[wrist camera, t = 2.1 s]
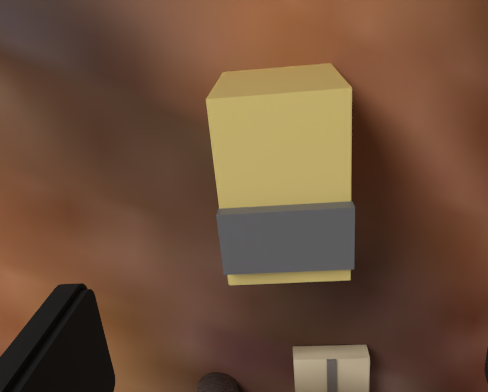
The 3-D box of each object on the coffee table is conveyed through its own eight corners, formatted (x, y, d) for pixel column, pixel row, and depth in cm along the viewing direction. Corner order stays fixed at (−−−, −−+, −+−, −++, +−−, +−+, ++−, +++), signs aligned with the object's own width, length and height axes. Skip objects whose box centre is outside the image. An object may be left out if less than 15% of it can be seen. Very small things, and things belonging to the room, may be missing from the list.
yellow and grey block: (222, 71, 19) (202, 103, 14) (331, 62, 19) (356, 91, 13) (237, 218, 22) (226, 293, 16) (333, 213, 21) (354, 288, 16)
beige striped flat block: (292, 346, 25) (293, 361, 24) (366, 344, 24) (370, 359, 23) (296, 411, 27) (297, 427, 26) (364, 410, 26) (368, 426, 25)
